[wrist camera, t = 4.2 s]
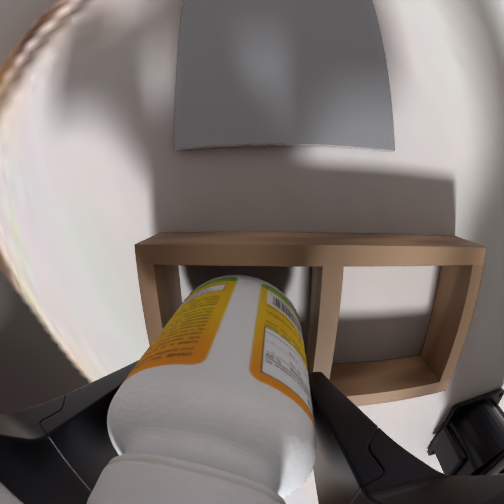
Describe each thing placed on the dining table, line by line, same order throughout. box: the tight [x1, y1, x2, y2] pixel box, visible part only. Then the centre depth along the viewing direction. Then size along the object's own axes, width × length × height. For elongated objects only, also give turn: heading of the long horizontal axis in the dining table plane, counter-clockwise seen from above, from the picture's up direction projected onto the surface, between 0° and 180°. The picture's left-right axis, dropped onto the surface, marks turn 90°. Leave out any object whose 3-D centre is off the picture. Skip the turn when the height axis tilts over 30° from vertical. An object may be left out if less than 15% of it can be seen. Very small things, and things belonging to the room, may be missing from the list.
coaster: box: [174, 0, 395, 152], centre depth 10 cm, size 10×10×1 cm
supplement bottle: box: [87, 275, 316, 504], centre depth 7 cm, size 5×5×10 cm
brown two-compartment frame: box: [135, 232, 486, 406], centre depth 12 cm, size 15×8×3 cm, turn 91°
